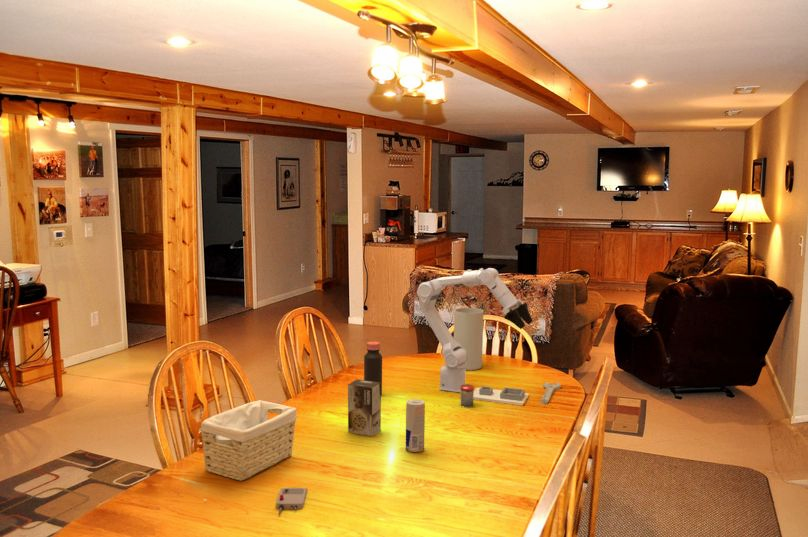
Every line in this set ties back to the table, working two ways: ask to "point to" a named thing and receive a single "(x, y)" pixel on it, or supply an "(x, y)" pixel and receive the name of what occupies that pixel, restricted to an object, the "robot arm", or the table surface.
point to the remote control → (291, 498)
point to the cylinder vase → (470, 334)
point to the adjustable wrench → (549, 391)
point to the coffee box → (364, 407)
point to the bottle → (373, 363)
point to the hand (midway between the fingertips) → (526, 325)
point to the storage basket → (248, 439)
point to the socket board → (501, 395)
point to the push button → (467, 395)
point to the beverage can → (415, 425)
